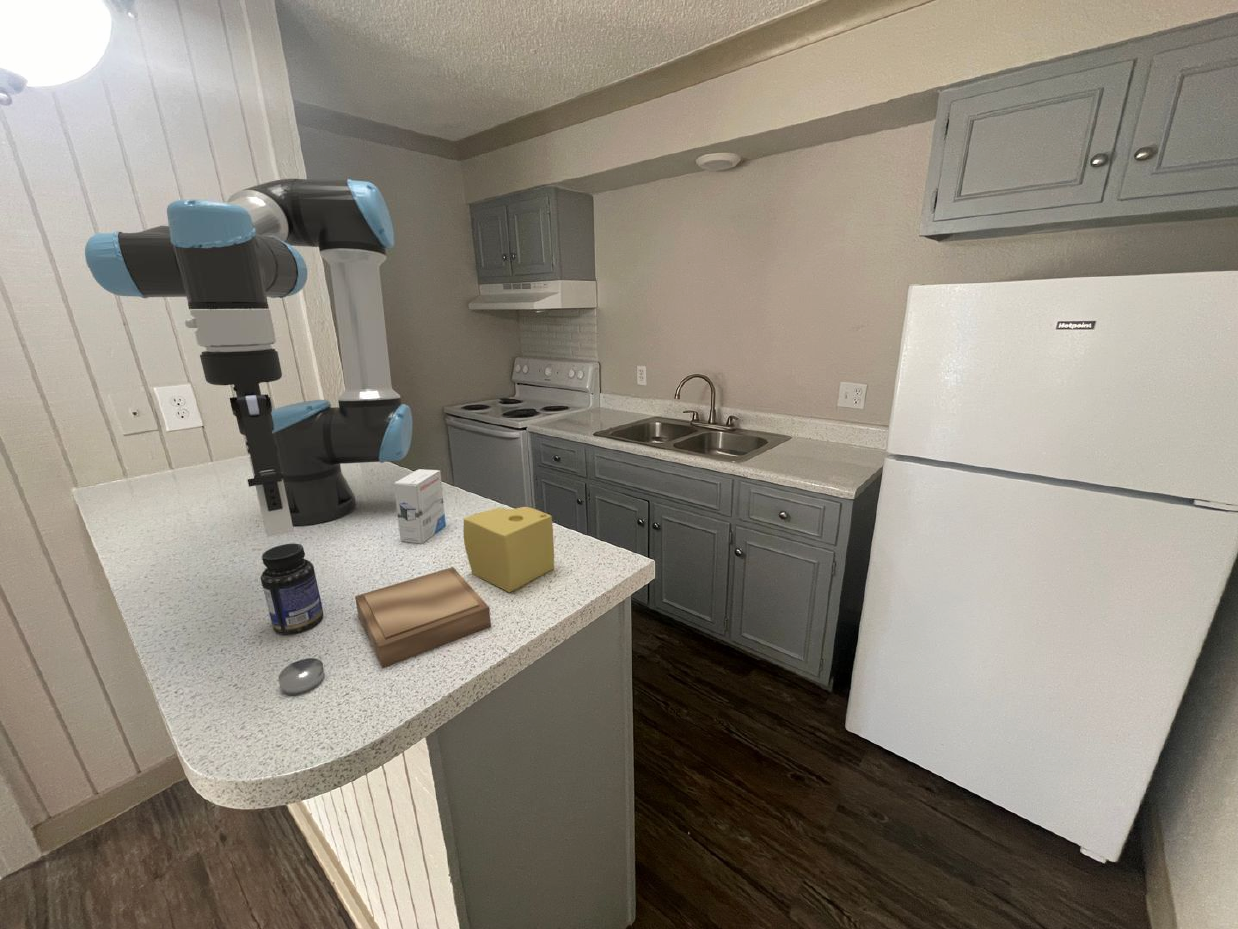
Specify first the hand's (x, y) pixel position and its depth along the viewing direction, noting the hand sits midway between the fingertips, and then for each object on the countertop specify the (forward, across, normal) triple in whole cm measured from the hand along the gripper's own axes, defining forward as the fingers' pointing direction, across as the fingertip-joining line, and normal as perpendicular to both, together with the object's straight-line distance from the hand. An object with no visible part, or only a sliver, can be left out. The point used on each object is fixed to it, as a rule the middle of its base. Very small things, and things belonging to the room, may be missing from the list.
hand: (275, 515), depth 67 cm
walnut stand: (+16, +10, +14) cm, 23 cm away
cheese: (+16, +5, +30) cm, 34 cm away
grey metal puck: (+16, +14, -1) cm, 21 cm away
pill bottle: (+16, 0, 0) cm, 16 cm away
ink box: (+16, -19, +23) cm, 34 cm away
